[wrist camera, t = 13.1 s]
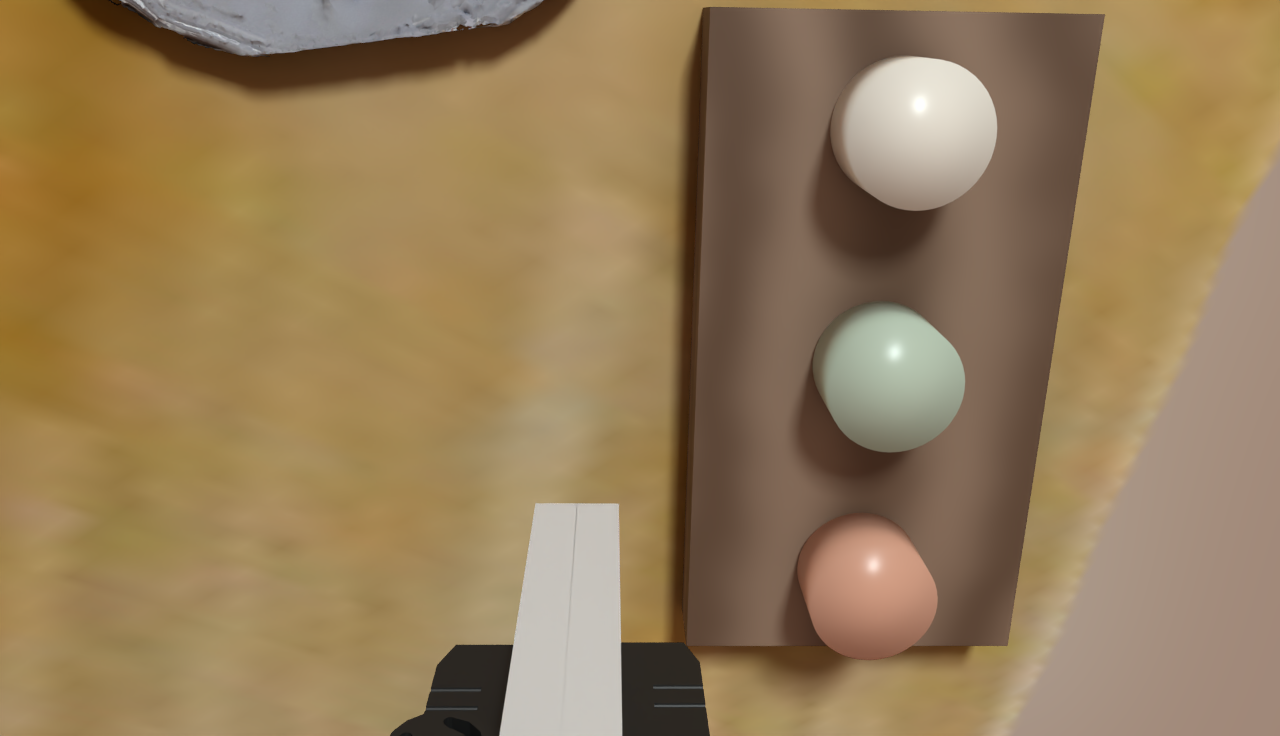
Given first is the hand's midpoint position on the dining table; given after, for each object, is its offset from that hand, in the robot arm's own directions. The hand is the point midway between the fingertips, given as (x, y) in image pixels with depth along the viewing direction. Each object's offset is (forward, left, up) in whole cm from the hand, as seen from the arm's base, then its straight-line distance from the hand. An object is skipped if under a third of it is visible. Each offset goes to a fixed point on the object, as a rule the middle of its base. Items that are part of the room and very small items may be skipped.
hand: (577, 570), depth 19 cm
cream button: (+11, +6, -21) cm, 25 cm away
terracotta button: (+11, -12, -21) cm, 27 cm away
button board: (+11, -3, -24) cm, 27 cm away
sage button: (+11, -3, -21) cm, 24 cm away
